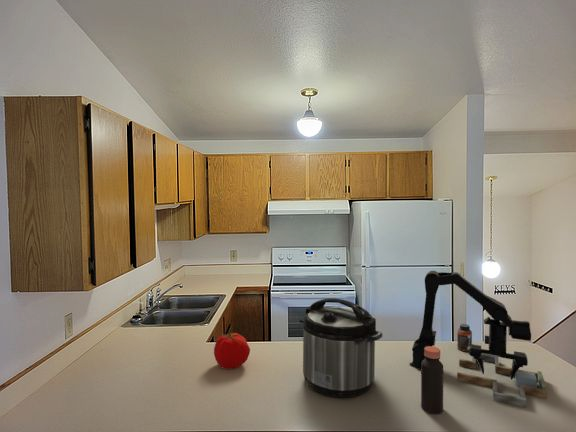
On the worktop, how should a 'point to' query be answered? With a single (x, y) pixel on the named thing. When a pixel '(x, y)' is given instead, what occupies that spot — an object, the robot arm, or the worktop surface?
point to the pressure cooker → (339, 348)
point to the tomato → (231, 351)
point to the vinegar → (432, 381)
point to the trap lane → (493, 383)
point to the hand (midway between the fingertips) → (497, 376)
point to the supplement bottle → (464, 338)
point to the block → (525, 379)
